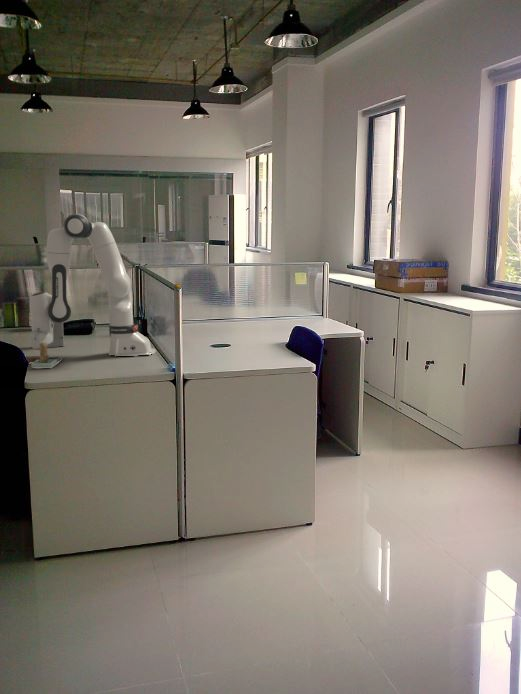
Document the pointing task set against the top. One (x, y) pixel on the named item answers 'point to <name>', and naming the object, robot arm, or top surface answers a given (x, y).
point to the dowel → (43, 353)
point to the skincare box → (57, 335)
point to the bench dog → (33, 358)
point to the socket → (54, 358)
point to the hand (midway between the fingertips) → (44, 355)
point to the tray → (39, 364)
